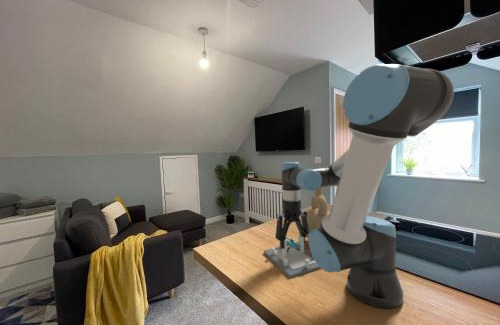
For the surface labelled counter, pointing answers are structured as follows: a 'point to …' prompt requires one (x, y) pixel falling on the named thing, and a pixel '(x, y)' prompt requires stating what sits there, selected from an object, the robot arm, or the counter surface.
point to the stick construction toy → (291, 244)
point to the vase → (317, 210)
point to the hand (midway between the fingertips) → (293, 253)
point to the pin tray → (292, 261)
